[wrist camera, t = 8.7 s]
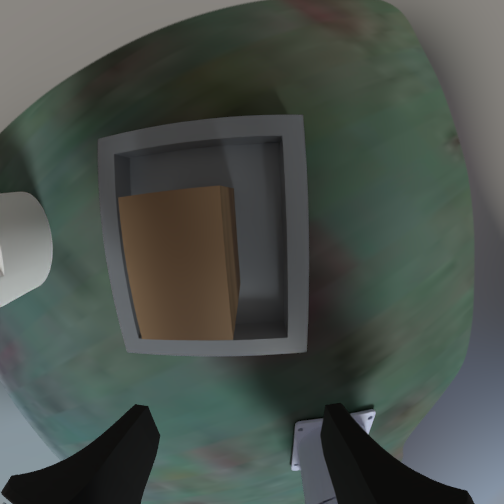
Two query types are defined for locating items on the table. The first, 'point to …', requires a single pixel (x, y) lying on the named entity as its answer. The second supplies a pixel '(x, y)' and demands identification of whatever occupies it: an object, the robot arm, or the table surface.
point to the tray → (247, 221)
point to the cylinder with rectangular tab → (22, 245)
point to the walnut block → (182, 262)
